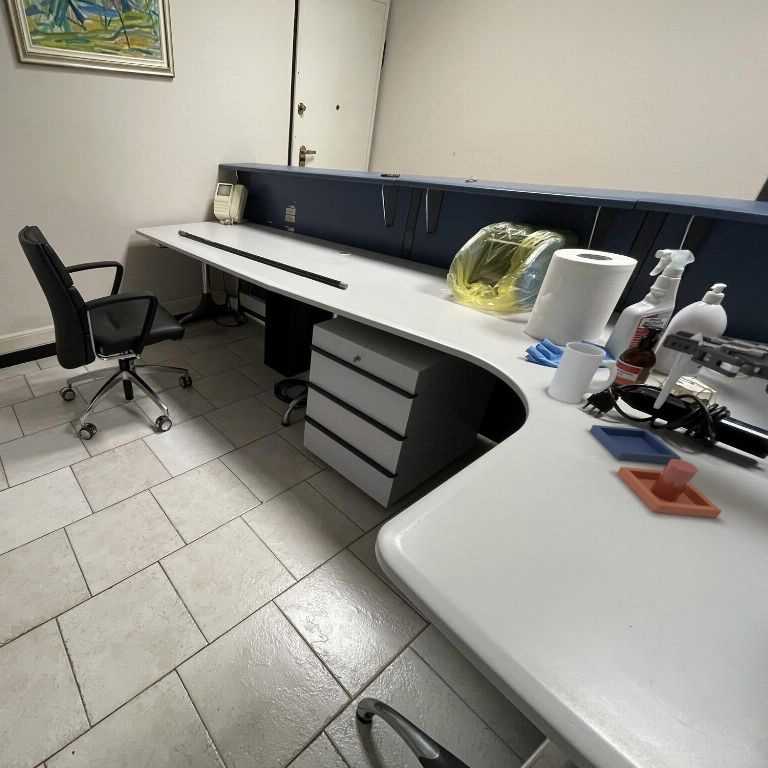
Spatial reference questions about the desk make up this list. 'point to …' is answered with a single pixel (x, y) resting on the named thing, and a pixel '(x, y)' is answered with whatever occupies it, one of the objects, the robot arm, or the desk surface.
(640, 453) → the blue tray
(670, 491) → the red peg
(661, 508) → the terracotta tray
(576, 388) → the mug
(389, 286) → the desk surface
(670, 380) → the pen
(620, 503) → the desk surface
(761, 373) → the robot arm
